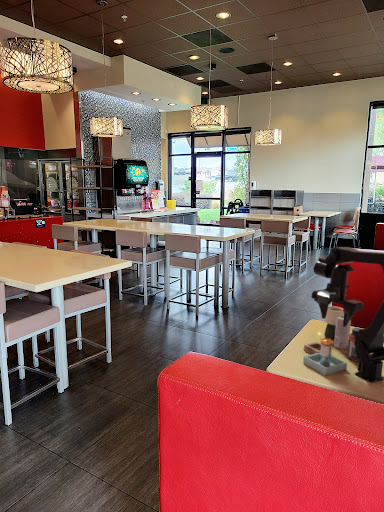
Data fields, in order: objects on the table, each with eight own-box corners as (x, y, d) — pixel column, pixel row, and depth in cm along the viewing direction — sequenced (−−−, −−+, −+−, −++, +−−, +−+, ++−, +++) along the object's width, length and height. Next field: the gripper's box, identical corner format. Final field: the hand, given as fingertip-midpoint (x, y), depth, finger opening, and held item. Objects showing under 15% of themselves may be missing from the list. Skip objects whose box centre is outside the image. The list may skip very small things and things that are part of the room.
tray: (346, 369, 131) (347, 363, 131) (325, 375, 127) (326, 368, 126) (323, 358, 140) (324, 351, 140) (303, 363, 135) (303, 356, 135)
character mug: (345, 337, 162) (349, 308, 159) (345, 343, 155) (349, 312, 153) (319, 333, 166) (321, 304, 163) (317, 338, 159) (320, 308, 157)
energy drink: (345, 344, 154) (348, 316, 152) (349, 349, 149) (353, 320, 147) (332, 343, 154) (335, 315, 152) (335, 348, 149) (338, 319, 147)
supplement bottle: (349, 353, 145) (352, 325, 143) (365, 358, 141) (369, 329, 140) (344, 358, 141) (347, 329, 139) (361, 363, 137) (364, 333, 135)
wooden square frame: (330, 354, 144) (331, 348, 144) (317, 357, 141) (318, 351, 140) (316, 347, 150) (317, 341, 150) (303, 350, 147) (304, 344, 146)
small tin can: (333, 366, 132) (336, 341, 131) (324, 368, 131) (327, 343, 129) (324, 361, 136) (326, 337, 135) (315, 363, 134) (318, 339, 133)
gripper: (303, 277, 141) (299, 317, 144) (346, 290, 125) (340, 334, 128) (323, 275, 147) (319, 313, 150) (367, 286, 131) (361, 329, 134)
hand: (333, 322), depth 140 cm, fingers open, 9 cm apart
